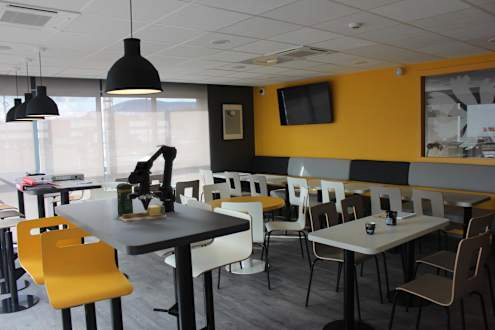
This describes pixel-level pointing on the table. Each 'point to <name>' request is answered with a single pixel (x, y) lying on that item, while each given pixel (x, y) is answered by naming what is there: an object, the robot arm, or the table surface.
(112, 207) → the table surface
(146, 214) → the track
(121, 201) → the coffee jar
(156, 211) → the block
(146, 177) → the robot arm
